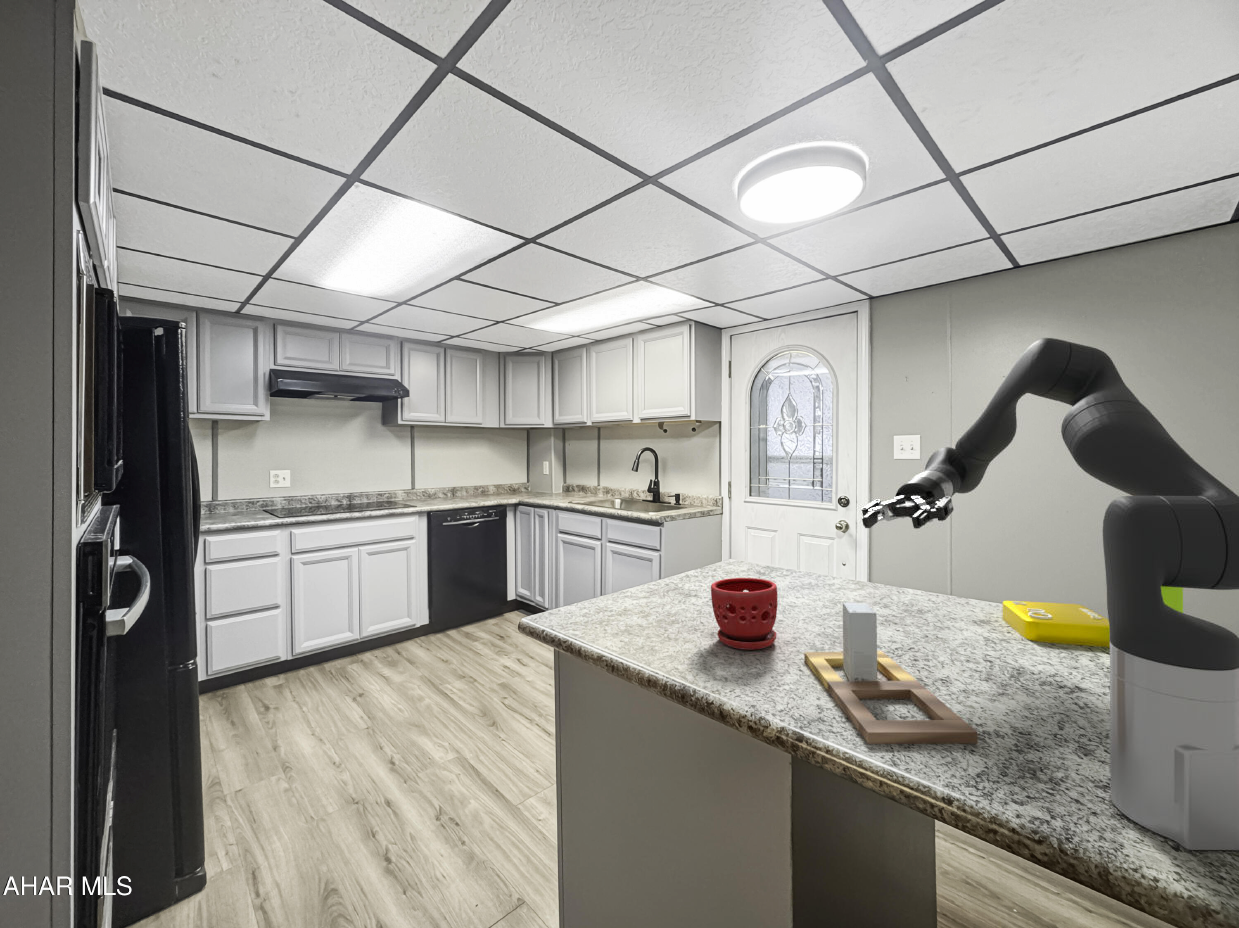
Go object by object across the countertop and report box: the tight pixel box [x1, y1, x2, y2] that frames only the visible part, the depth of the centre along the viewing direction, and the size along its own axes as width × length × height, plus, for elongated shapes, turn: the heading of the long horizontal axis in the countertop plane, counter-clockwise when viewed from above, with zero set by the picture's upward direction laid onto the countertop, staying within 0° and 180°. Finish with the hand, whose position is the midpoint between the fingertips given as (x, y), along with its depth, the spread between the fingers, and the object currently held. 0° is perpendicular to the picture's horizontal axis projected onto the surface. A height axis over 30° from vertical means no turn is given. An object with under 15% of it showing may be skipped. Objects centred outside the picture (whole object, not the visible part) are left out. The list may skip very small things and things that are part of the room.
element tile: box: [1002, 600, 1110, 648], centre depth 105 cm, size 15×15×5 cm
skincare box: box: [842, 601, 879, 681], centre depth 87 cm, size 6×4×12 cm
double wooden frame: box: [803, 650, 979, 745], centre depth 81 cm, size 27×14×2 cm, turn 177°
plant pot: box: [710, 577, 778, 651], centre depth 105 cm, size 13×13×12 cm
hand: (889, 523), depth 91 cm, fingers open, 8 cm apart
